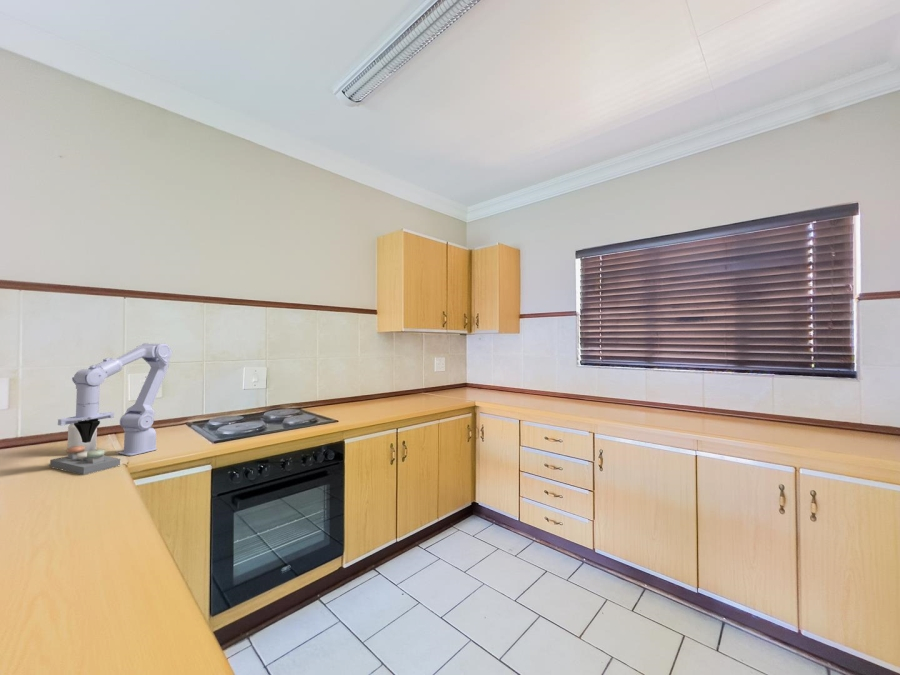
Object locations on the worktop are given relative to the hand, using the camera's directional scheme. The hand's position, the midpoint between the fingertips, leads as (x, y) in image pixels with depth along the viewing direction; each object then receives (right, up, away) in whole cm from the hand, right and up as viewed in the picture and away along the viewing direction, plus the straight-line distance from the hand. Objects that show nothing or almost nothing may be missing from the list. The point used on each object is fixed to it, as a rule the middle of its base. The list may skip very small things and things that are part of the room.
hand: (86, 442), depth 128 cm
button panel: (0, -9, 0) cm, 9 cm away
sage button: (+5, -7, -2) cm, 9 cm away
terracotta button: (-6, -7, +2) cm, 9 cm away
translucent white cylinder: (-18, -9, +16) cm, 25 cm away
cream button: (0, -8, 0) cm, 8 cm away
